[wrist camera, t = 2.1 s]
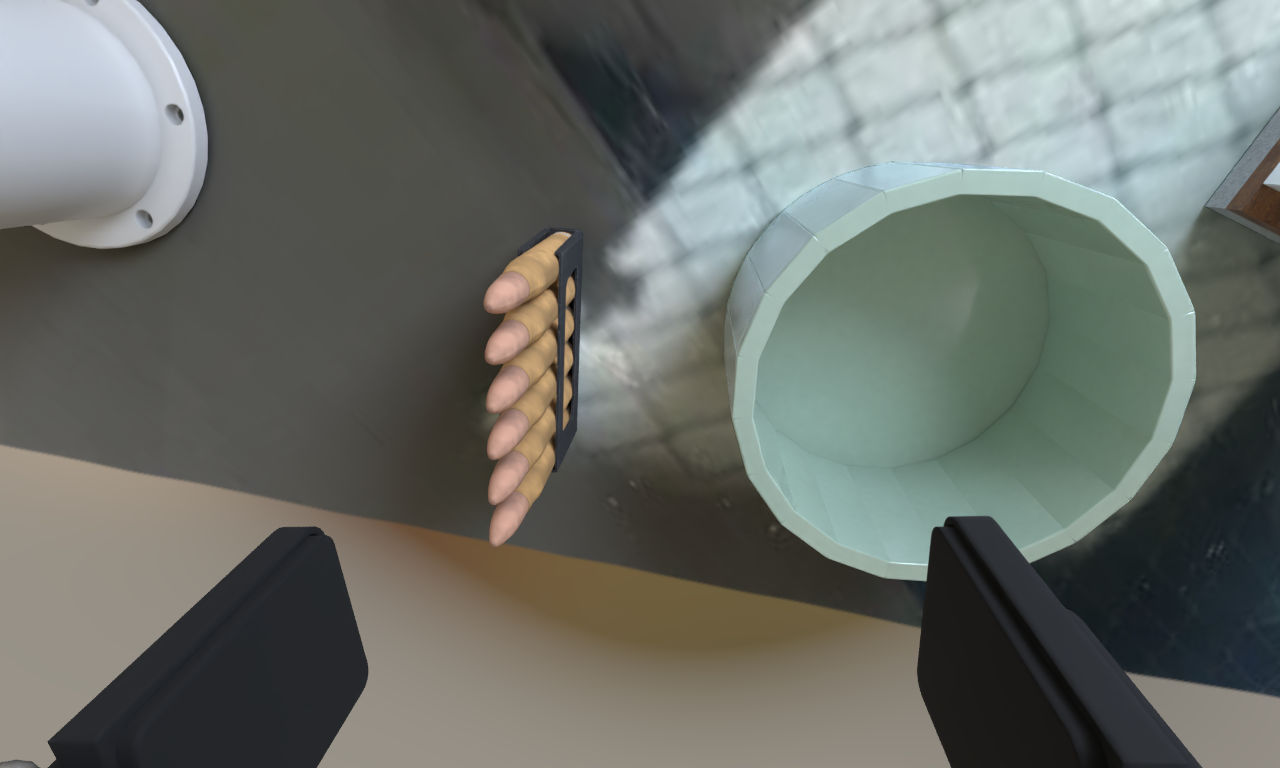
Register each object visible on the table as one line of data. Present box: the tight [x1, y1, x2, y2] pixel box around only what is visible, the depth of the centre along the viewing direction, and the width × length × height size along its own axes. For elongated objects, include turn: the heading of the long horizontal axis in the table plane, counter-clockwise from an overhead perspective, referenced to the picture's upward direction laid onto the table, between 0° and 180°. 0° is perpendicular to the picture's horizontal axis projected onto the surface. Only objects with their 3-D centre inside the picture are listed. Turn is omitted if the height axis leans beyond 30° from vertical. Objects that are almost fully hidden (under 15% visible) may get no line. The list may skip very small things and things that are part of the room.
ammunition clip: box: [484, 228, 583, 548], centre depth 27 cm, size 11×2×12 cm, turn 176°
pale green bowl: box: [724, 162, 1196, 581], centre depth 27 cm, size 16×16×9 cm
